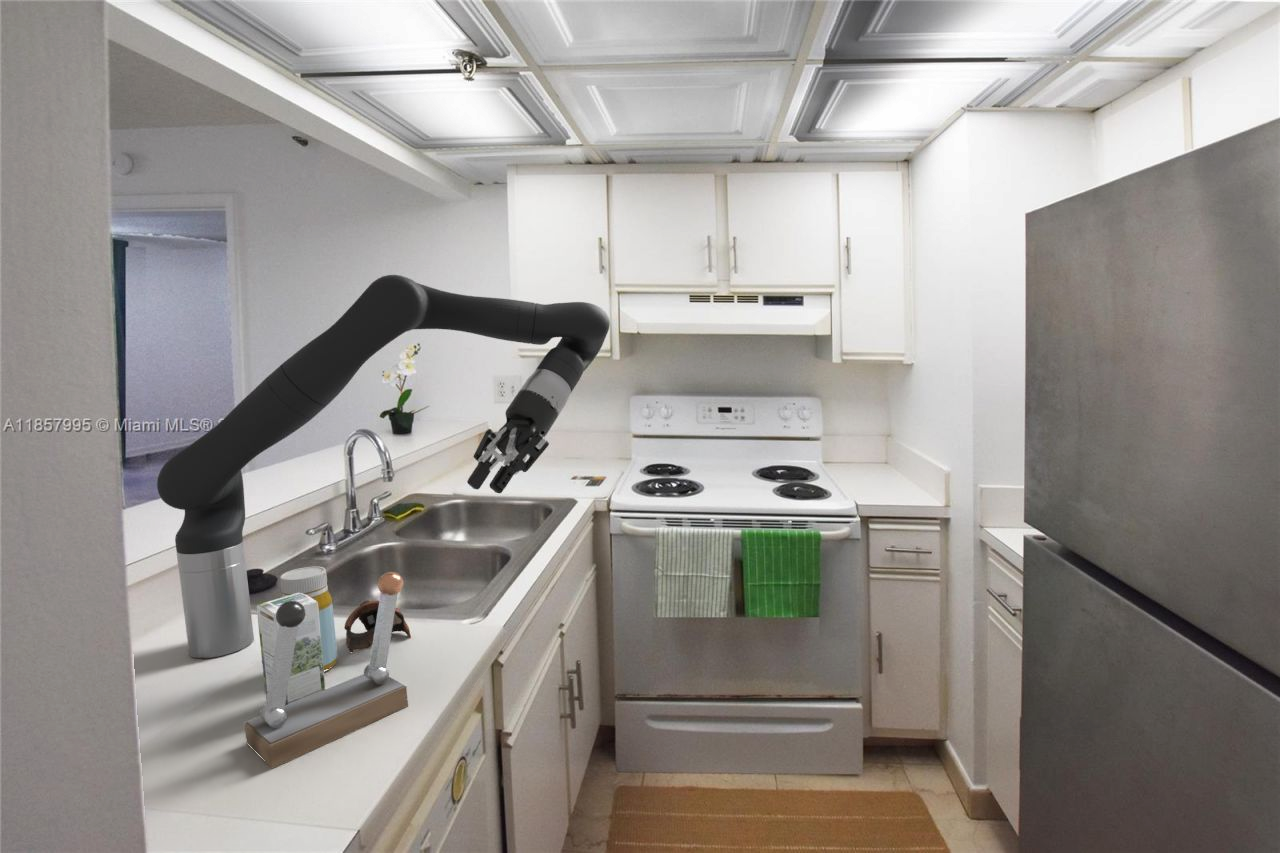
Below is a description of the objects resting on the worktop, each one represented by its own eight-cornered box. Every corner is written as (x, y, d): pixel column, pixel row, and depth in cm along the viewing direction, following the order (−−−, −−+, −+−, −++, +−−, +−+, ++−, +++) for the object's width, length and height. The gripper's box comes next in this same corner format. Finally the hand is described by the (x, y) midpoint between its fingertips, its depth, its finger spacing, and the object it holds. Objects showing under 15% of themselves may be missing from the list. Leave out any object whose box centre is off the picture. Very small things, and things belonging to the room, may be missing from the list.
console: (246, 744, 82) (244, 721, 82) (378, 688, 95) (376, 668, 94) (272, 768, 77) (269, 744, 76) (408, 706, 89) (406, 685, 89)
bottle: (285, 683, 97) (274, 584, 96) (289, 664, 104) (279, 570, 102) (337, 672, 100) (328, 575, 98) (338, 654, 106) (329, 562, 105)
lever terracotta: (358, 679, 90) (375, 570, 91) (380, 676, 92) (397, 569, 93) (369, 686, 88) (387, 574, 89) (392, 683, 90) (409, 574, 91)
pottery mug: (424, 643, 110) (403, 612, 106) (373, 684, 106) (348, 652, 101) (394, 608, 118) (373, 577, 114) (345, 644, 114) (322, 613, 109)
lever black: (252, 721, 80) (274, 598, 81) (280, 717, 82) (301, 597, 84) (262, 731, 78) (284, 604, 79) (291, 725, 80) (311, 603, 82)
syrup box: (308, 688, 96) (298, 590, 94) (328, 700, 92) (317, 598, 90) (265, 705, 91) (254, 603, 90) (284, 719, 87) (273, 612, 86)
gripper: (498, 388, 112) (440, 470, 104) (555, 388, 102) (496, 478, 95) (525, 416, 116) (471, 497, 109) (582, 419, 107) (527, 507, 99)
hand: (483, 487), depth 102 cm, fingers open, 5 cm apart
